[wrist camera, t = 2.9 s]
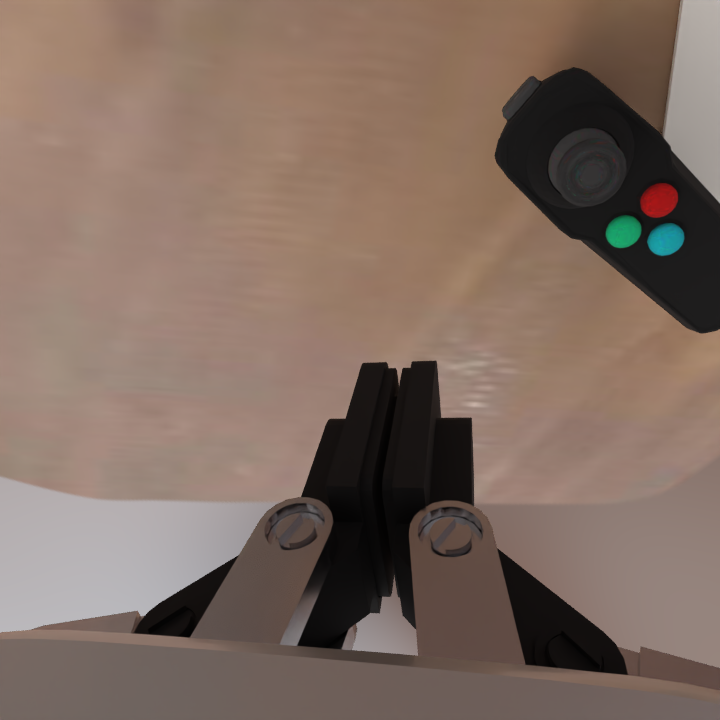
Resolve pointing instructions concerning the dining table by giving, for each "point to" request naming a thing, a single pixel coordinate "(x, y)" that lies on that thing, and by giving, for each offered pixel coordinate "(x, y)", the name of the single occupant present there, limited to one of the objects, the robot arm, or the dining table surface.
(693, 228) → the controller
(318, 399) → the dining table surface
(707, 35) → the mat
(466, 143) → the dining table surface
